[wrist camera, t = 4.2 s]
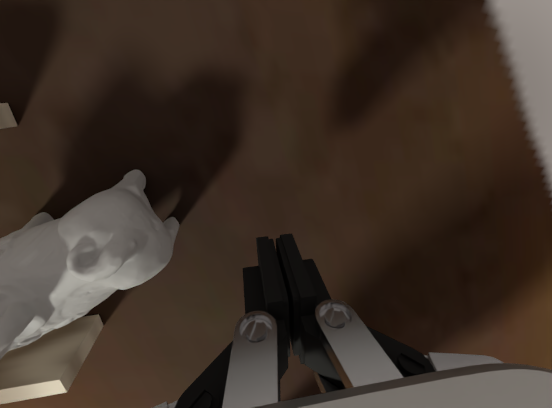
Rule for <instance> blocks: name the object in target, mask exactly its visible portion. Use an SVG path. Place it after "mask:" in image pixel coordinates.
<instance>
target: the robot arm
mask: <svg viewBox="0 0 552 408" xmlns="http://www.w3.org/2000/svg"><path fill="white" fill-rule="evenodd" d="M256 242H257V253H258V265H259V266H254V267H246V268H243V280H244V297H245V315H244V316H242V317H241V318H240V319H239V321H238V322H237V324H236V327H235V331H234V338H233V341H232V342H231V343H230V344H229V345H228V346H227V347H226V348H225V349H224V350H223V352H222V353H221V354H220V355H219V356H218V357H217V358H216V359H215V360H214V361H213V362H212V363H211V364H210V365H209V366H208V367H207V368H206V369H205V370H204V372H203V373H202V374H201V375H200V376H199V377H198V378H197V379H196V380H195V381H194V382H193V383H192V384H191V385H190V386H189V387H188V388H187V389H186V390H185V392H184V393H183V394H182V395H181V397H180V398H179V399H178V401H175V402H173V403H171V404H169V405H168V403H167V402H164V403H162V404H160V405H157V406H155V407H153V408H552V370H550V369H546V368H541V367H536V366H530V365H523V364H510V363H503V362H502V361H500V360H497V359H495V358H493V357H489V356H484V355H467V354H449V353H431V352H428V356H425V355H423V354H421V353H420V352H418V351H417V350H415V349H413V348H411V347H409V346H407V345H405V344H403V343H400V342H398V341H396V340H394V339H392V338H390V337H388V336H386V335H384V334H382V333H380V332H378V331H376V330H373V329H371V328H369V327H367V326H365V325H364V323H363V322H362V321H361V319H360V318H359V317H358V315H357V314H356V312H355V311H354V310H353V309H352V308H351V307H350V306H349V305H348V304H346V303H345V302H342V301H339V300H333V299H331V297H330V295H329V293H328V291H327V289H326V287H325V284H324V282H323V280H322V278H321V276H320V274H319V271H318V269H317V267H316V265H315V263H314V261H313V259H307V260H302V258H301V255H300V253H299V250H298V248H297V245H296V243H295V240H294V238H293V235H292V234H284V235H280V238H276V249H275V246H274V242H273V239H268V236H267V237H258V238H256ZM290 341H291V345H292V350H293V354H294V356H296V355H299V358H300V362H301V364H304V363H305V365H306V366H308V367H309V368H311V369H312V370H313V373H314V376H315V379H316V381H317V384H318V386H319V388H320V391H321V393H322V394H317V395H312V396H307V397H302V398H297V399H292V400H287V401H282V402H281V401H280V379H281V378H282V376H283V375H284V373H285V372H286V370H287V369H288V357H290Z"/></svg>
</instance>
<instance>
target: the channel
mask: <svg viewBox="0 0 552 408" xmlns="http://www.w3.org/2000/svg"><path fill="white" fill-rule="evenodd" d="M16 126H18V125H17V123H16V121H15V119H14V116H13V114H12V112H11V109H10V107H9V105H8V103H0V129H3V128H9V127H16ZM103 326H104V325H103V323H102V321H101V318H100V316H99V314H98V315H91V316H84V317H80V318H77V319H76V320H74V321H72V322H70V323H69V324H67V325H65V326H63V327H61V328H58V329H54V330H52V331H50V332H48V333H46V334H44V335H43V336H41V337H40V338H39V339H37V340H36V341H34V342H32V343H30V344H28V345H25V346H22V347H19V348H16V349H13V350H10V351H8V352H7V353H6V354H5V355H4V356H3V357H2V358H1V360H0V404H4V403H9V402H15V401H21V400H26V399H32V398H37V397H43V396H49V395H54V394H60V393H66V392H67V391H68V389H69V388H70V386H71V384H72V382H73V380H74V379H75V377H76V375H77V373H78V371H79V370H80V368H81V366H82V364H83V362H84V360H85V359H86V357H87V355H88V353H89V351H90V350H91V348H92V346H93V344H94V342H95V341H96V339H97V337H98V335H99V333H100V331H101V330H102V328H103Z"/></svg>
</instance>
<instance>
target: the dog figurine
mask: <svg viewBox="0 0 552 408" xmlns="http://www.w3.org/2000/svg"><path fill="white" fill-rule="evenodd" d="M145 186H146V177H145V176H144V174H143V173H142V172H141V171H140V170H132V171H130V172H128V173H127V174H126V175H125V176H124V178H123V180H121V181H120V182H119V183H118V184H116V185H115V186H114V187H112V188H111V189H108V190H105V191H102V192H99V193H97V194H95V195H93V196H91V197H90V198H88V199H86V200H85V201H83V202H82V203H80V204H79V205H77V206H76V207H74V208H73V209H72V210H70V211H69V212H67V213H66V214H65V215H64V216H63V217H62V218H59V219H56V220H54V219H53V218H52V217H51V216H50V215H49V214H48V213H45V212H42V213H39V214H37V215H36V216H34V217H33V218H32V220H31V221H30V222H28V223H27V224H26V225H25V226H24V227H23V228H22V229H21V230H18V231H15V232H13V233H11V234H9V235H8V236H5V237H3V238H0V360H1V358H2V357H3V356H4V355H5V354H6V353H7V352H8V351H10V350H13V349H16V348H19V347H22V346H25V345H28V344H30V343H32V342H34V341H36V340H37V339H39V338H40V337H41V336H43V335H44V334H46V333H48V332H50V331H52V330H54V329H58V328H61V327H63V326H65V325H67V324H69V323H70V322H72V321H74V320H76V319H77V318H80V317H82V316H84V315H85V314H87V313H88V312H89V311H90V310H91V309H92V308H94V307H95V306H97V305H98V304H99V303H101V302H102V301H104V300H105V299H106V298H108V297H109V296H110V295H111V294H112V293H114V292H115V291H116V290H117V289H120V290H125V289H129V288H132V287H134V286H137V285H140V284H142V283H144V282H146V281H147V280H149V279H151V278H152V277H153V276H155V275H156V274H157V273H159V272H160V271H161V270H162V269H163V268H164V267H165V266H166V265H167V264H168V262H169V261H170V259H171V256H172V253H173V244H174V241H175V237H176V235H177V232H178V229H179V223H178V221H177V220H176V218H175V217H170V218H168V219H167V220H165V221H164V223H162V221H161V220H160V219H159V218H158V216H157V215H155V213H154V211H153V209H152V208H151V206H150V203H149V201H148V199H147V197H146V195H145V193H144V191H143V190H144V188H145Z"/></svg>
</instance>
